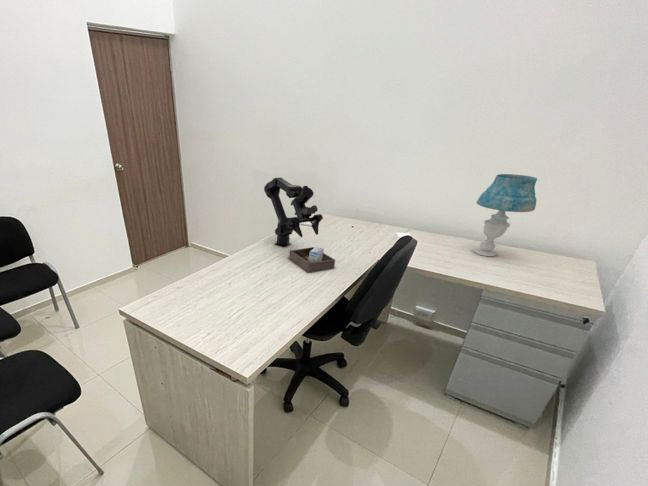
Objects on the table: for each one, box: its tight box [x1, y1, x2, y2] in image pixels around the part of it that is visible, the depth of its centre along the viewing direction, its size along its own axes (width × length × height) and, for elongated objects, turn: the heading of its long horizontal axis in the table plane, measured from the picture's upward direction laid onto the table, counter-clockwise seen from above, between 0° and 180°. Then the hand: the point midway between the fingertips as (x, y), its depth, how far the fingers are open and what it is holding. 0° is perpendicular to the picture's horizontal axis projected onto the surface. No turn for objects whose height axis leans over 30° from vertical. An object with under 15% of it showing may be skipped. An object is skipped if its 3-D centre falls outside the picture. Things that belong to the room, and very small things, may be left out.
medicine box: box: [308, 246, 325, 263], centre depth 163 cm, size 8×4×9 cm, turn 144°
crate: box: [288, 246, 336, 273], centre depth 167 cm, size 19×15×4 cm
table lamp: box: [473, 173, 538, 257], centre depth 169 cm, size 24×24×40 cm
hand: (309, 235), depth 165 cm, fingers open, 9 cm apart
